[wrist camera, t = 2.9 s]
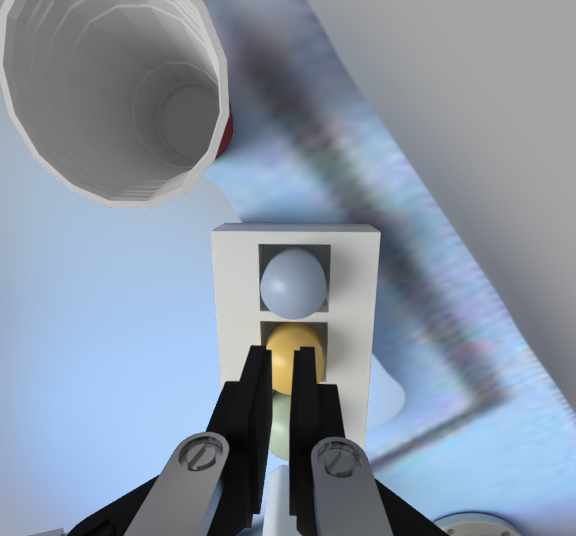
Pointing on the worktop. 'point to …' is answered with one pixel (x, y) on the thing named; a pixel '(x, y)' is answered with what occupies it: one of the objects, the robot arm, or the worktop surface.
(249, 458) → the robot arm
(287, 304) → the button slate
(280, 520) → the eye dropper bottle
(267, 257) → the white slotted frame
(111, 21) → the plastic cup
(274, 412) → the button sage
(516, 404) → the worktop surface
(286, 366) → the button amber
